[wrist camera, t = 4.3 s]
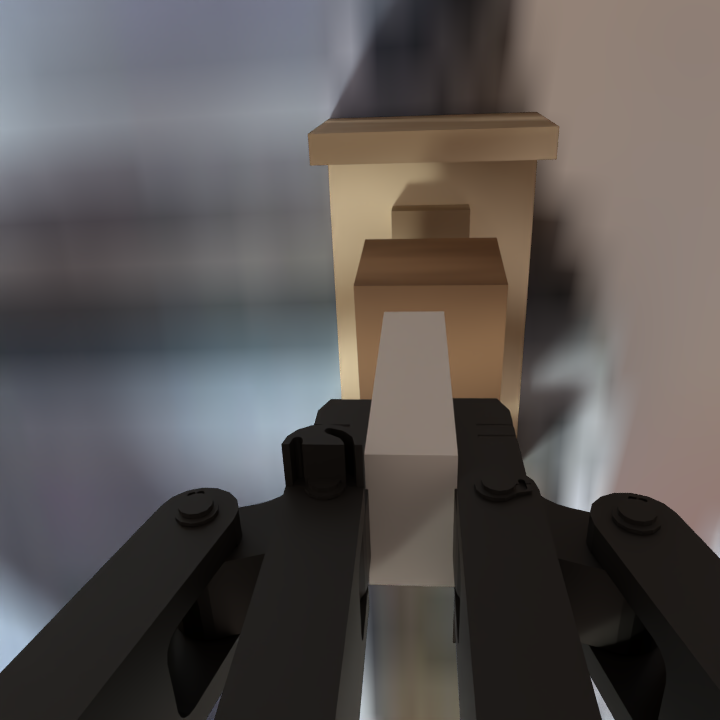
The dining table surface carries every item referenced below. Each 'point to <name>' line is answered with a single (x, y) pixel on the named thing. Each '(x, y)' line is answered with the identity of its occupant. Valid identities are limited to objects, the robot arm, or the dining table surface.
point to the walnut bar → (436, 304)
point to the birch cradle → (434, 203)
